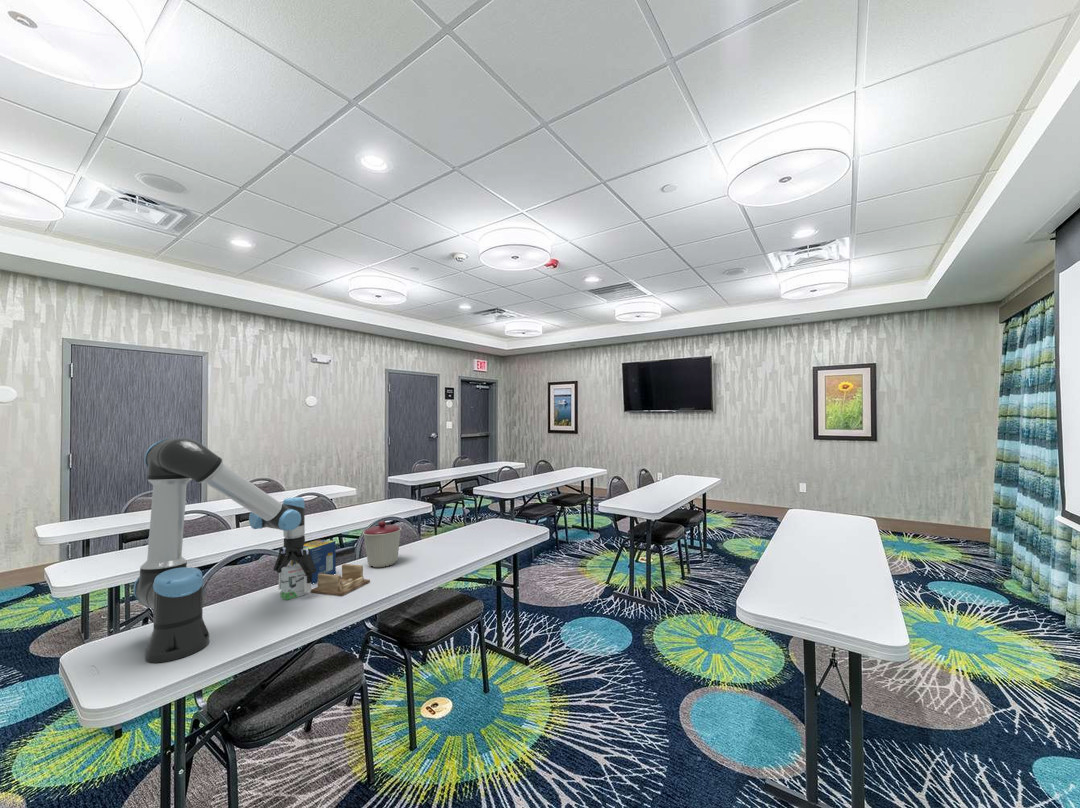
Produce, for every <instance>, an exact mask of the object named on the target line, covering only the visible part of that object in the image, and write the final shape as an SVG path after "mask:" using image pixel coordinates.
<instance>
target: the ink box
mask: <svg viewBox="0 0 1080 808" xmlns="http://www.w3.org/2000/svg"><path fill="white" fill-rule="evenodd" d="M304 575H305V572H304V571H303V569H302V568H301V566H300V564H295V565H291V564H290V565H287V566H286V567H283V568H282V569H281V589H280V598H281V599H283V600H285V601H289V600H292V599H294V598H298V597H301V596H304V595H308V594H309V591H308V592H306V593H305V592H304Z"/></svg>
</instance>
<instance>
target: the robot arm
mask: <svg viewBox="0 0 1080 808" xmlns="http://www.w3.org/2000/svg"><path fill="white" fill-rule="evenodd" d="M144 463H145V466H146V468H147V481H148V482H149V483H150V484H151V485H152V495H151V497H152V498H151V507H150V509H151V510H150V519H149V532H148V533H149V534H148V546H147V560H146V561H145V562H144V563H142V564H141V566H140V569H139V576H138V578H136V580H135V583H134V586H133V594H134V597H135V599H136V600H137V602H138V603H140V605H144V606H145V607H148V608H150V609H152V610H153V626H152V627H153V629H152V633H151V636H150V638H149V641H148V643H147V647H146V649H145V652H144V653H145V654H144V655H145V657H144V660H145V661H146V662H148V663H154V664H155V663H165V662H166V663H167V662H171V661H175V660H178V659H181V658H185V657H188V656H191V655H193V654H195V653H198V652H199V651H201V650H203V649H205V648H206V647H207V646H208V645H209V643H210V633H209V631H208V627H207V625H206V623H205V621H204V618H203V597H204V596H203V595H204V589H203V588H204V577H203V572H202V571H201V569H199V568H197V567H191V566H190V567H187V565H188V564H187V563H188V560H187V559H186V558H184V557H183V556H182V555H183V554H182V553H183V552H182V551H183V540H184V539H183V538H184V527H185V525H184V524H185V514H186V513H185V512H186V500H187V485H188V483H189V482H190V481H192V480H193V481H194V482H197V484H201V483H205V484H206V485H208V486H209V487H211V488H213V489H214V490H216V491H218V492H219V493H221V494H222V495H224V496H225V497H227V498H228V499H231V501H233V502H235V503H236V504H238V505H240V506H241V507H243V508H244V509H246V510H248V511H249V512H250V513H249V516H248V523H249V526H250V527H251V529H253V530H258V529H263V528H267V529H268V528H269V529H275V530H280V531H283V537H284V538H283V547H279V548H278V556H277V558H276V561H275V564H274V566H273V571H274V572H275V571H276V573H277V581H278V590H280V591H281V569H282V568H283V567H286V566H289V563H291V560H294V561H297V562H298V563H299V564H300V566H301V568H302V569H303V571H304V572H305V575H304V592H305V593H306V592H308V593H309V592H311V590H312V585H311V582H312V574H313V573H315V572H316V568H315V565H314V562H313V560H312V557H311V555H310V549H309V548H308V549H303V546H304V544H306V536H305V534H306V533H305V531H306V530H305V529H306V528H305V525H306V524H305V520H306V519H305V515H306V514H305V510H306V509H305V508H306V505H305V500H304V498H303V497H302V496H301V497H300V496H295V497H288V498H284V499H283V500H282V503H281V502H280V501H278V500H277V499H276V498H275V497H273V496H271V495H269V494H268V493H267V492H265V491H264V490H262V489H261V488H259V487H258V486H256V484H253V483H252V482H250V481H249V480H247V479H246V477H245V478H244V476H242V475H240V474H239V473H237V472H236V471H234V470H233V469H231V468H230V467H229V466H227V465H226V464H224V460H223V458H222V457H220V456H218V455H217V454H216V453H214V452H213V451H212V450H210V449H209V448H207V447H206V446H204V445H203V444H201V443H200V442H198V441H197V440H194V439H191V438H187V437H186V438H185V437H179V438H173V437H172V438H165V439H162V440H160V441H157V442H154V443H153V444H151V446H149V448H148V449H147V450H146V451H145V454H144ZM301 557H302V558H301ZM308 571H309V572H308Z"/></svg>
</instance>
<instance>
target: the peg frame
mask: <svg viewBox="0 0 1080 808" xmlns="http://www.w3.org/2000/svg"><path fill="white" fill-rule="evenodd" d="M370 583H371V579H368V578H367V579H366V578H365V577H364V566H363V565H362V564H360V565H359V564H349V563H344V564H341V574H336V575H330V574H319V575H318V582H317V586H316V587H315V588H311V590H310V593H311V594H318V595H325V596H327V595H328V596H336V597H343V596H346V595H347V594H350V593H352V592H353V591H355V590H356V591H357V590H358V589H359V588H362V587H364V586H366V585H368V584H370Z"/></svg>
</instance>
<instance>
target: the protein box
mask: <svg viewBox="0 0 1080 808" xmlns="http://www.w3.org/2000/svg"><path fill="white" fill-rule="evenodd" d="M336 546H337V545H336V540H330V539H329V540H328V539H316V540H315V539H314V540H313V541H310V542H305V544H304V546H303V549H308V548H309V549H310V555H311V557H312V560H313V562H314V565H315V568H316V572H315V573H313V574H312V582H311V584H312V585H314V584H316V582H317V583H318V575H319V574H330V575H334V574H336V575H337V572H336V570H337V568H336V567H337V566H336V565H337V563H336V562H337V557H336V556H337V555H336V554H337V553H336V552H337V551H336ZM301 558H302V557H301ZM295 564H299V563H298V562H297V561H294V560H290V566H291V565H295ZM308 572H309V571H308ZM313 583H314V584H313Z"/></svg>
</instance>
